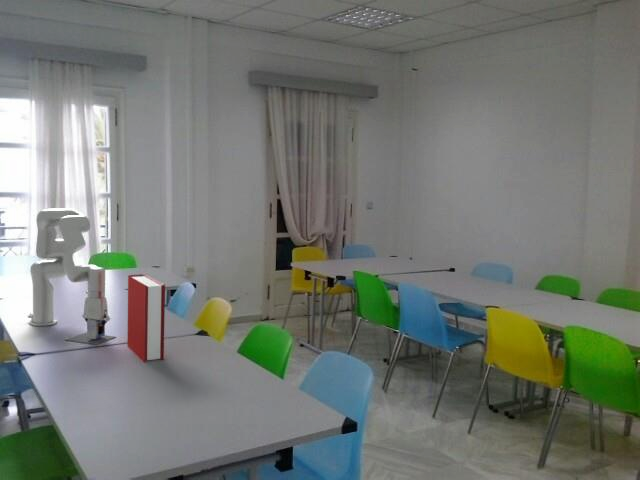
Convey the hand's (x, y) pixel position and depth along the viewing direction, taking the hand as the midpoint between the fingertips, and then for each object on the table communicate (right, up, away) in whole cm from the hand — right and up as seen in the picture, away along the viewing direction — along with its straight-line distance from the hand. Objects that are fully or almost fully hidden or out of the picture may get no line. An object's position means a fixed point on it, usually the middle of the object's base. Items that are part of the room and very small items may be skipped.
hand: (96, 332), depth 275 cm
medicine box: (0, -2, 0) cm, 2 cm away
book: (+27, -6, -16) cm, 32 cm away
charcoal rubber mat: (-3, -3, +1) cm, 4 cm away
